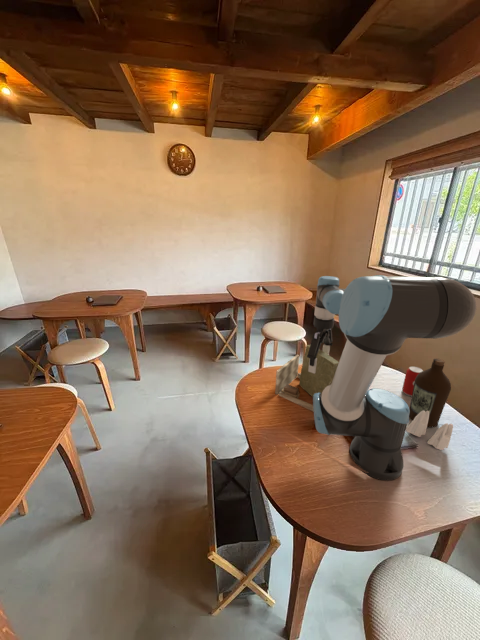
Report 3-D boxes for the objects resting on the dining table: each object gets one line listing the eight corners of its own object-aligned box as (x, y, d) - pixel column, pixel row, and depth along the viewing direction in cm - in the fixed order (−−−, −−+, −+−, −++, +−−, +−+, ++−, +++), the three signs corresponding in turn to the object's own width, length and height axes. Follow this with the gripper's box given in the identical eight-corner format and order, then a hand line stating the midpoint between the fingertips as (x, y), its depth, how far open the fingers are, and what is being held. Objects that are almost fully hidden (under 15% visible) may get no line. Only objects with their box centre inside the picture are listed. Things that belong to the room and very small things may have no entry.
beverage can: (415, 399, 112) (421, 374, 108) (399, 392, 116) (405, 368, 112) (420, 394, 116) (427, 369, 112) (404, 387, 120) (410, 364, 116)
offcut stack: (295, 400, 111) (296, 391, 110) (281, 394, 115) (281, 385, 114) (299, 397, 113) (299, 388, 112) (284, 391, 117) (284, 382, 116)
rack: (338, 422, 99) (343, 395, 95) (275, 395, 114) (276, 370, 110) (353, 398, 113) (358, 373, 109) (295, 376, 128) (296, 354, 124)
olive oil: (416, 406, 107) (432, 351, 99) (445, 423, 98) (465, 363, 90) (400, 414, 103) (414, 357, 94) (428, 432, 94) (447, 370, 86)
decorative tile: (296, 385, 121) (299, 346, 115) (307, 382, 124) (311, 343, 117) (324, 410, 105) (330, 365, 99) (336, 406, 108) (342, 362, 101)
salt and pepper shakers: (403, 434, 93) (410, 408, 90) (407, 428, 96) (414, 402, 92) (445, 453, 85) (455, 426, 82) (448, 446, 88) (457, 419, 84)
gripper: (321, 328, 91) (315, 381, 98) (344, 310, 110) (338, 356, 117) (301, 323, 95) (296, 374, 103) (326, 307, 114) (321, 351, 121)
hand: (318, 365), depth 110 cm, fingers open, 13 cm apart
